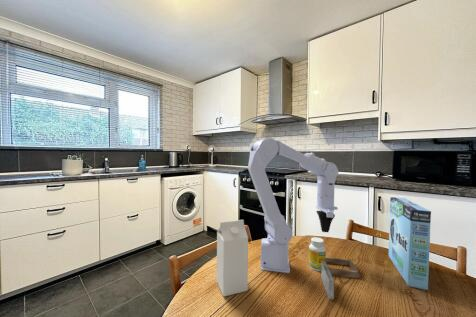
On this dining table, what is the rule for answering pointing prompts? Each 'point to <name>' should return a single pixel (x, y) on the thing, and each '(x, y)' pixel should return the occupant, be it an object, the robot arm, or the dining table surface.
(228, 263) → the milk carton
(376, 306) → the dining table surface
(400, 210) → the gum box
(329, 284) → the locking bar
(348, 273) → the brown u-shaped frame
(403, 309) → the dining table surface
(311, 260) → the supplement bottle
